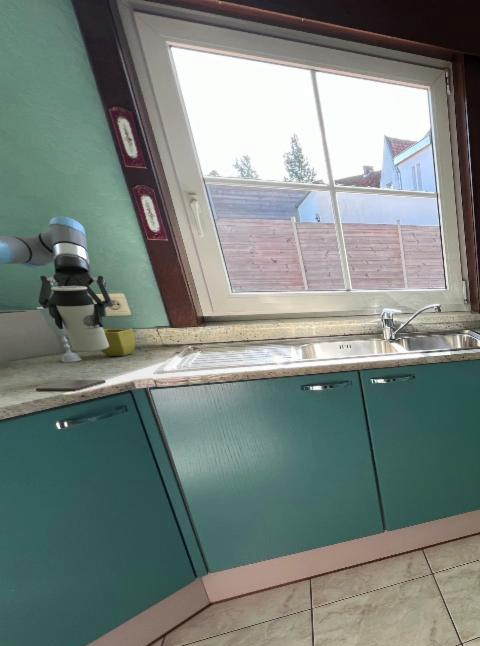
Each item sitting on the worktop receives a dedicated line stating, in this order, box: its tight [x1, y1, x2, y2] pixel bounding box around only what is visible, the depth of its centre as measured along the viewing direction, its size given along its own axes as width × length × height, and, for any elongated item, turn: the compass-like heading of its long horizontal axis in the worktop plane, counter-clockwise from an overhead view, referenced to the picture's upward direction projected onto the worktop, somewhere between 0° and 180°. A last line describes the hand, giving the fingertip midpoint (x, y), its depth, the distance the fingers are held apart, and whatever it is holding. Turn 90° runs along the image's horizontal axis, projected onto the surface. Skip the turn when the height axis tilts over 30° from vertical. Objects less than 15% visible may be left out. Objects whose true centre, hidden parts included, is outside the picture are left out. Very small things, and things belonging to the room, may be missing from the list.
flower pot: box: [100, 328, 136, 357], centre depth 179 cm, size 9×9×9 cm
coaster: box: [35, 379, 106, 392], centre depth 141 cm, size 10×10×1 cm
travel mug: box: [51, 286, 109, 352], centre depth 146 cm, size 8×8×18 cm
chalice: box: [36, 306, 83, 363], centre depth 168 cm, size 7×7×18 cm
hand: (79, 325), depth 144 cm, fingers closed on travel mug, 8 cm apart
